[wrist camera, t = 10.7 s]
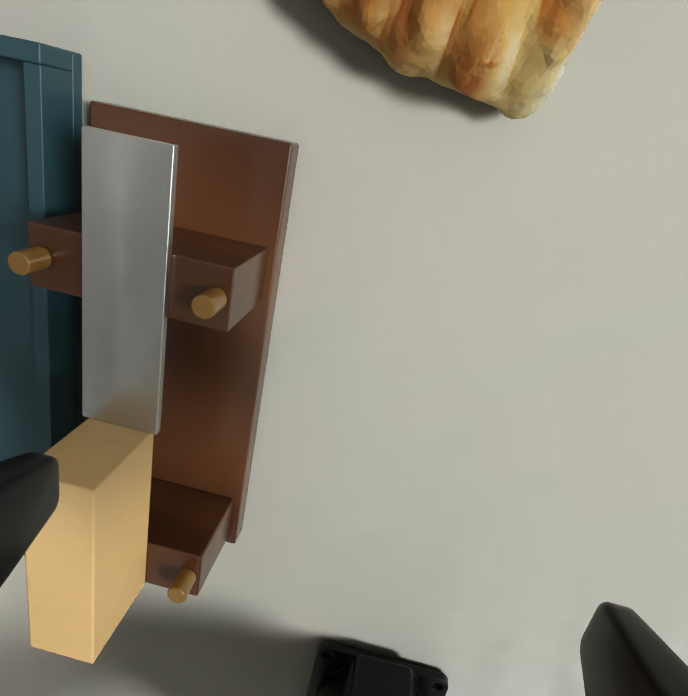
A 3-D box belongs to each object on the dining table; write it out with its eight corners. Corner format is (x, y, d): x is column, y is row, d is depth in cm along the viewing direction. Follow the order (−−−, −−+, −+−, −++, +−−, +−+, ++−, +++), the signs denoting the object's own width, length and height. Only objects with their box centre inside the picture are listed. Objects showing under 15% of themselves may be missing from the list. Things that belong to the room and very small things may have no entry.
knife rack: (241, 529, 24) (192, 631, 19) (100, 492, 24) (15, 581, 19) (299, 143, 18) (248, 140, 12) (106, 102, 18) (-19, 84, 13)
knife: (150, 584, 20) (98, 666, 17) (86, 567, 20) (23, 645, 17) (179, 145, 14) (106, 144, 11) (88, 126, 14) (-11, 119, 11)
